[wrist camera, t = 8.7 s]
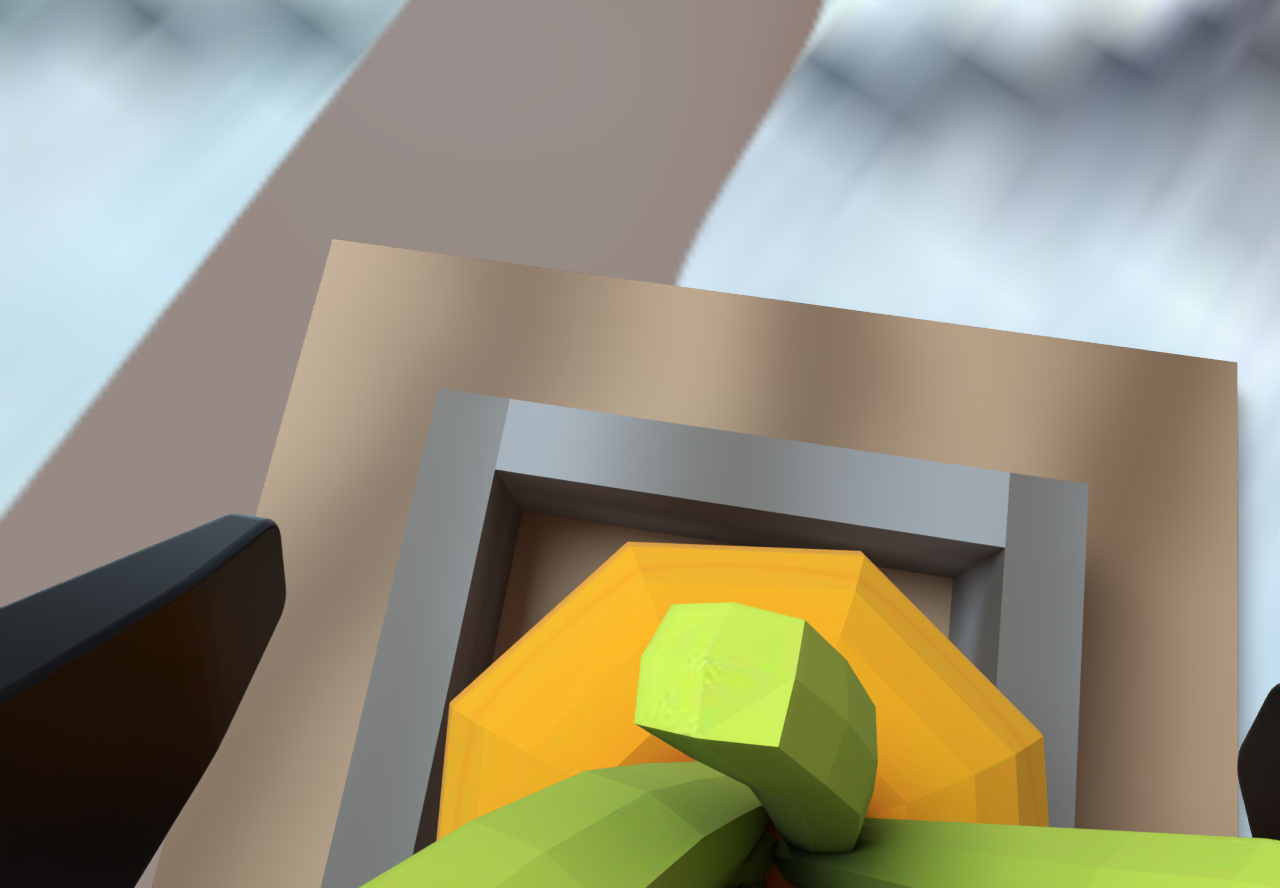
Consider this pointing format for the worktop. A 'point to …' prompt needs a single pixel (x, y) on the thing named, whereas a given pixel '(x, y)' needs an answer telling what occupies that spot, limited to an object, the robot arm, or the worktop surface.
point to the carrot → (764, 748)
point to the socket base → (714, 530)
